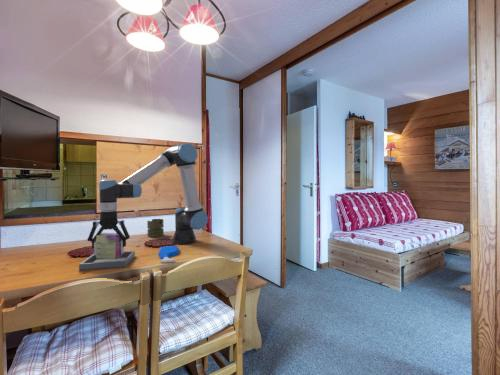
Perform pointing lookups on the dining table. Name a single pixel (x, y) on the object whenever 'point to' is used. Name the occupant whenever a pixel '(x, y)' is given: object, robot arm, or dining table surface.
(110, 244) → the box
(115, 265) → the tray
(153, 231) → the dark green block
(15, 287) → the dining table surface
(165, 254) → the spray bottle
